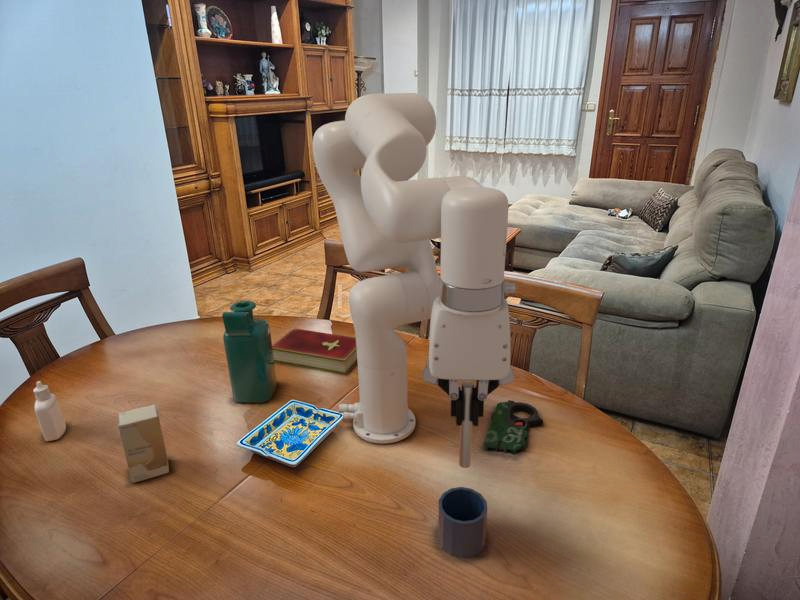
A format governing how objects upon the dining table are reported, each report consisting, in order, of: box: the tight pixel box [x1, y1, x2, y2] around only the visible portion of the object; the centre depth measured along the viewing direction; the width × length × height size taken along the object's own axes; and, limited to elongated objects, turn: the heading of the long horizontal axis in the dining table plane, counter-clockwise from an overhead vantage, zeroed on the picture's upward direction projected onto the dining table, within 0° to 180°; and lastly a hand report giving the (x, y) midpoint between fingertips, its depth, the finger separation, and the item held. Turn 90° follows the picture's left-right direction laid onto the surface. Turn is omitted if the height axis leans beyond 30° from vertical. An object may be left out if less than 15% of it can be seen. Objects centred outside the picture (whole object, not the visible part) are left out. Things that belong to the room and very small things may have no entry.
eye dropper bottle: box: [32, 380, 67, 442], centre depth 101 cm, size 4×6×12 cm
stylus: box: [458, 380, 475, 469], centre depth 69 cm, size 2×2×13 cm
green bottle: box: [222, 300, 278, 404], centre depth 110 cm, size 10×8×22 cm
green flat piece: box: [483, 399, 544, 456], centre depth 101 cm, size 16×2×10 cm
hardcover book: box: [272, 327, 358, 376], centre depth 129 cm, size 12×21×4 cm, turn 70°
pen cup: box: [437, 486, 488, 559], centre depth 76 cm, size 7×7×7 cm
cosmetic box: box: [117, 403, 170, 484], centre depth 90 cm, size 6×4×12 cm
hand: (466, 419), depth 69 cm, fingers closed on stylus, 1 cm apart
